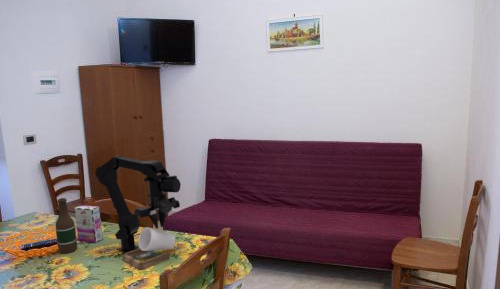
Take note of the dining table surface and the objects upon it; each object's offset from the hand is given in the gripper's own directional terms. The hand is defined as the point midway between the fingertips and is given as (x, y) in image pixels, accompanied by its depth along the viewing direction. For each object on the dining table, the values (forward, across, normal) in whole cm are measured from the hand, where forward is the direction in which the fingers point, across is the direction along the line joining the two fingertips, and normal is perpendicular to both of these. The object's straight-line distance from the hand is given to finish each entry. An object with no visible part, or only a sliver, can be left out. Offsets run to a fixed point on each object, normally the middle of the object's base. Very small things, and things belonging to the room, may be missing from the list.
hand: (159, 227), depth 166 cm
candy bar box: (+11, -13, +42) cm, 45 cm away
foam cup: (+8, +5, 0) cm, 9 cm away
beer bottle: (+11, -25, +37) cm, 46 cm away
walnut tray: (+12, -6, +1) cm, 14 cm away
